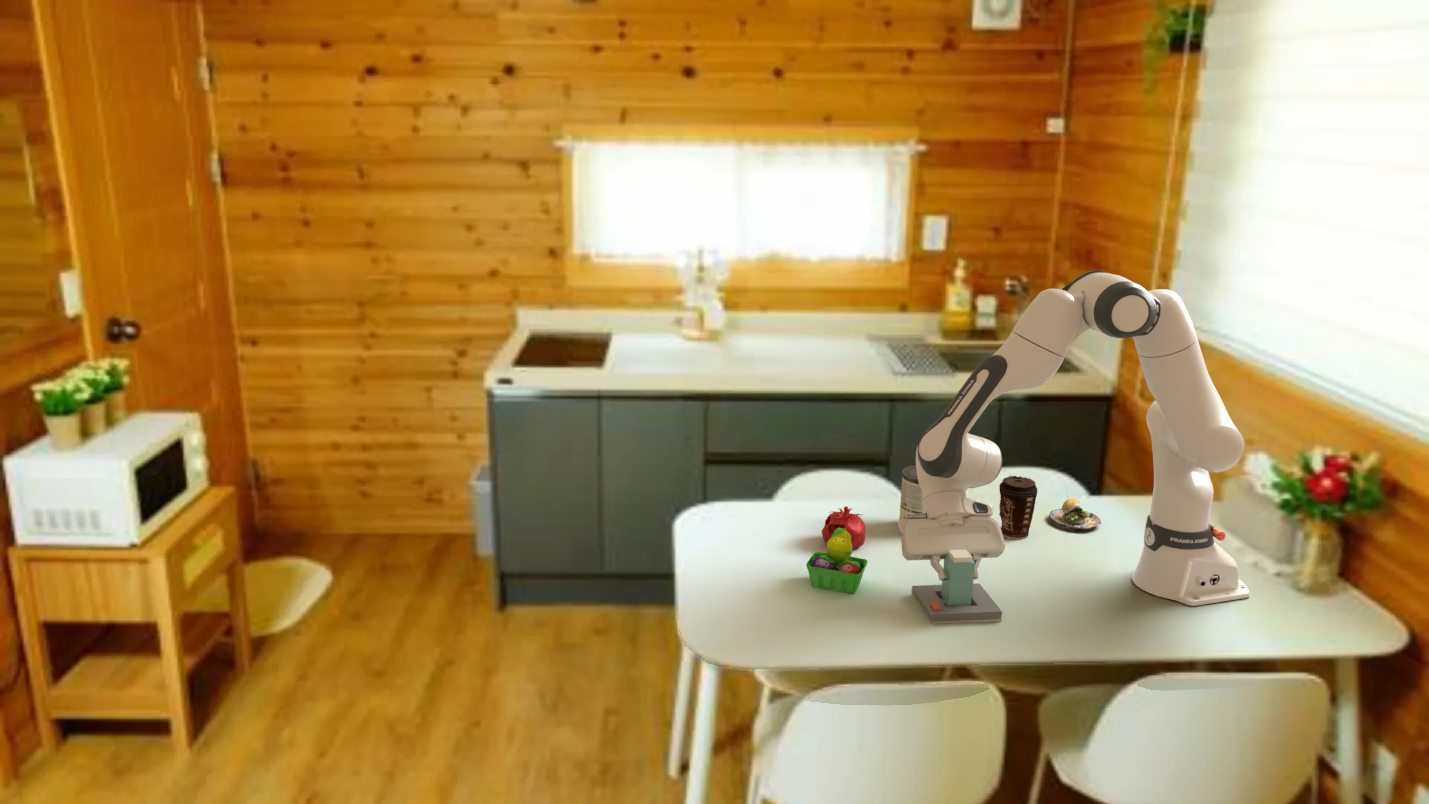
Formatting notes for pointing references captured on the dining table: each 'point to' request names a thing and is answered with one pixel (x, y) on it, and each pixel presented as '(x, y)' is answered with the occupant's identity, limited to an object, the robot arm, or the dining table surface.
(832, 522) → the pomegranate
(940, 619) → the socket plate
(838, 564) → the fruit basket
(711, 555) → the dining table surface
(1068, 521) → the burger
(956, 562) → the plug
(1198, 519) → the robot arm
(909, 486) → the coffee can
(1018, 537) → the coffee cup
